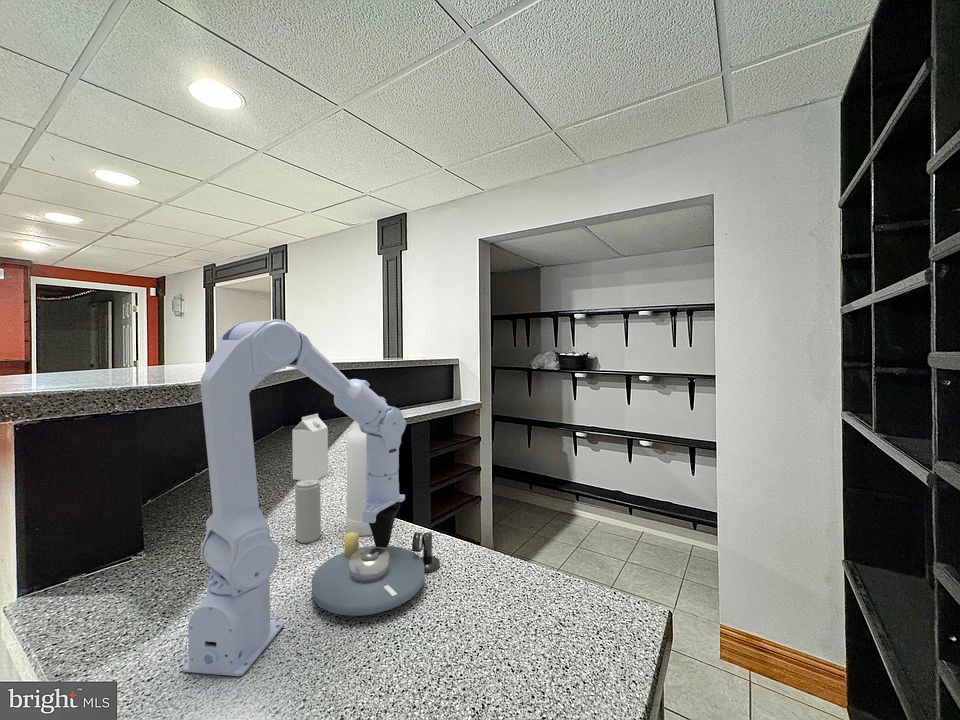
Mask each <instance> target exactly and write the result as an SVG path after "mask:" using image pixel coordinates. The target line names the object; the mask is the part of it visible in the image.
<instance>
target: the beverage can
mask: <svg viewBox="0 0 960 720" xmlns="http://www.w3.org/2000/svg"><path fill="white" fill-rule="evenodd" d="M320 482H321V481H320V479H304V480H297V482H295V483H296V484H295V487H294V489H295V490H294V491H295V493H294V494H295V495H294V496H295V498H294V499H295V501H294V503H295V508H294V509H295V540H297V542H299V543H301V544H311V543H313V542H316V541H317V540H318V539H319V538H320V537H321V532H322V531H321V530H322V528H321V524H322V523H321V519H322V518H321V517H322V516H321V510H322V509H321V505H322V504H321V483H320Z"/></svg>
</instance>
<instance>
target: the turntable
mask: <svg viewBox="0 0 960 720" xmlns="http://www.w3.org/2000/svg"><path fill="white" fill-rule="evenodd" d="M359 537H360V536H359V534H358V533H357V532H349V533H348V532H346V533H345V534H344V551H343V552H341V553H339V554H337V555H334V556H332V557H331V558H329V559H327V560H326V561H324V562H323V563H322V564H321V565H320V566H318V568H317V569H316V570H315V572H314V573H313V576H312V578H311V597H312V599H313V601H314V603H315V604H317V605H318V607H320V608H321V609H323V610H325V611H327V612H330V613H333V614H336V615H342V616H351V617H352V616H355V617H357V616H358V617H359V616H369V615H374V614H379V613H383V612H386V611H391V610H392V609H395V608H397V607H399V606H401V605H403V604H405V603H406V602H408V601H409V600H411V599H412V598H413V597H414V596H416V594H418V593H419V591H420V590H421V589H422V587H423V585H424V582H425V573H424V569H425V567H424V563H423V561H422V559H421V557H420V556H419V555H418V554H417V553H415V552H413V550H410V549H406V548H405V547H399V546H395V545H388V546H387V547H386V548H383V547H376V546H375V545H367V546H362V547H361V546H360V545H359V543H360V542H359V539H360V538H359ZM359 546H360V547H359ZM367 548H381V549H384V550H386V551H388V553H389V574H388V575H387V576H386V577H385V578H384V579H382V580H380V581H377V582H374V583H368V584H361V583H356V582H354V581H352V580H351V579H350V577H349V559H350V557H351V555H353V554H354V553H355V552H357V551H359V550H362V549H367ZM390 609H391V610H390Z"/></svg>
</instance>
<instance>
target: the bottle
mask: <svg viewBox="0 0 960 720" xmlns="http://www.w3.org/2000/svg"><path fill="white" fill-rule="evenodd" d="M365 496H366V433H363V432H361V430H360V428H359V424H358V423H357V422H356V425H355V426H354V427H353V428H352V429H351V430H350V432H349V434H348V436H347V439H346V519H345V520H346V521H345V522H346V532H347V533H349V532H357V533H358V534H359V537H367V536H371V535H372V536H373V534H372V531H371V528H370V525H369V523H363V522H362V511H363V510H364V508H365Z"/></svg>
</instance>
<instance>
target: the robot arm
mask: <svg viewBox="0 0 960 720" xmlns="http://www.w3.org/2000/svg"><path fill="white" fill-rule="evenodd" d="M217 339H218V340H217V346H216V349H215V351H214V352H213V354H212V356H211V358H210V360H209V362H208V364H207V366H206V368H205V369H204V372H203V374H202V375H201V377H200V383H199V384H200V394H201V402H202V403H201V405H202V415H203V423H204V433H205V445H206V452H207V453H206V455H207V464H208V474H209V484H210V485H209V486H210V493H211V494H210V495H211V504H212V505H211V506H212V514H211V515H210V516H209V517H208V518H207V520H206V521H205V525H206V526H205V528H206V532H205V536H204V539H203V541H202V544H201V546H200V557H201V560H202V561H203V563H204V564H205V565H207V566H208V567H209V568H210V573H209V577H208V580H207V590H206V594H205V596H204V598H203V600H202V602H201V604H200V605H198V607H197V608H196V609H195V611H193V613H192V614H191V616H190V618H189V621H188V624H187V625H188V627H187V630H188V632H187V633H188V635H187V636H188V637H187V639H188V641H187V642H188V644H187V645H188V646H187V647H188V661H187V662H186V663H185V664H184V665H183V666H182V672H186V673H195V674H196V673H197V674H206V675H207V674H209V675H219V676H232V677H241V676H243V675H244V674H246V673H247V671H248V670H249V669H250V668H251V666H252V665H253V664H254V662H255V661H257V659H258V657H259V656H260V655H261V654H262V653H263V651H264V650H265V649H266V648H267V647H268V646H269V644H271V642H272V641H273V640H274V639H275V637H276V636H277V635H278V634H279V632H280V631H281V629H282V628H283V627H284V624H285V623H284V622H283V621H275V620H271V586H270V585H271V583H270V581H271V579H270V576H271V575H273V572H274V571H275V569H276V567H277V565H278V561H279V556H280V555H279V554H280V552H279V548H278V545H277V544H276V542H275V541H273V539H272V537H271V534H270V526H269V523H268V522H267V519H266V517H265V516H264V514H263V512H262V510H261V508H260V505H259V504H260V503H259V492H258V491H259V490H258V482H257V481H258V480H257V479H258V477H257V469H256V458H255V445H254V435H253V423H252V422H253V421H252V412H251V402H250V401H251V400H250V393H251V391H252V390H253V389H254V388H255V387H256V386H258V385H259V383H260V382H262V381H263V380H264V379H265V378H266V377H267V376H269V375H271V374H273V373H275V372H277V371H279V370H281V369H282V368H285V367H289V368H293V369H297V370H298V371H299V372H301V373H302V374H303V375H304V376H307V377H308V378H309V379H311V380H312V381H313V382H315V383H317V384H318V385H319V386H320V387H322V388H323V389H325V390H326V391H328V392H329V393H330V394H331V395H333V402H334V406H335V407H336V408H337V409H339V410H340V411H342V413H344V414H345V415H347V416H348V417H350V418H351V419H352V420H353V421H355V422H356V424H357V423H358V424H359V428H360V430H361V432H363V433H366V496H365V508H364V510H363V511H362V522H363V523H369V525H370V528H371V531H372V538H373V541H374V546H376V547H383V548H386V547H387V546H390V545H389V544H390V541H391V537H392V532H393V528H394V527H393V526H394V523H395V520H396V517H397V514H398V513H399V510H400V508H401V503H402V502H404V501H405V500H406V495H405V494H400V482H399V481H400V480H399V468H400V463H399V461H400V460H399V459H400V457H399V455H400V450H399V449H400V447H401V445H402V436H403V434H404V432H405V430H406V427H407V420H406V419H405V416H404V415H403V413H402V411H401V410H400V408H398V407H396V406H391V405H389V404H388V403H387V399H386V398H385V397H383V396H379V395H378V394H377V393H376V392H374V390H372V389H371V388H369V387H370V385H371V384H370V383H369V382H368V381H367V380H365V379H359V378H352V379H351V378H350V379H349V378H347V377H346V375H344V373H342V372H341V371H340V370H339V369H338V368H337V367H336V366H335V365H334V364H333V363H332V362H331V361H330V360H329V359H328V358H327V357H326V356H325V355H324V354H323V353H321V351H319V349H318V348H317V347H315V346H314V345H313V343H312V342H311V340H310V338H309V337H308V336H307V335H306V334H304V333H303V332H301V331H298V330H297V328H296V327H295V326H294V325H292V324H291V323H290V322H288V321H286V320H283V319H270V320H269V319H268V320H261V321H252V320H244V321H239V322H238V323H235V324H234V325H232V326H231V327H230V328H228V329H227V330H226V331H224V332H223V333H222V334H221V335H219V336H218V338H217Z"/></svg>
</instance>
